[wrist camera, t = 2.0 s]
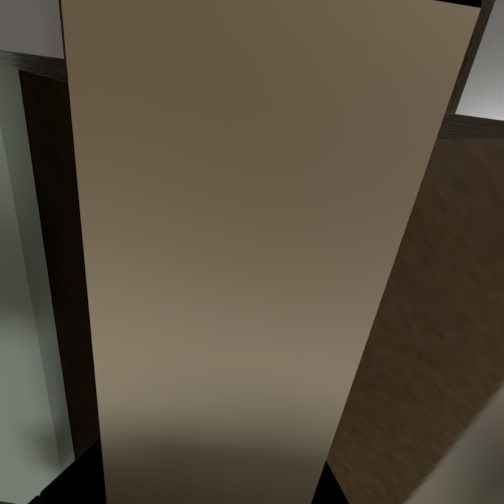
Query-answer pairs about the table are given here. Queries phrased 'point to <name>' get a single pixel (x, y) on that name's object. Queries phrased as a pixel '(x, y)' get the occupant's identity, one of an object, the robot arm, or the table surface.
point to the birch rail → (244, 222)
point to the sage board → (26, 322)
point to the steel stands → (455, 118)
